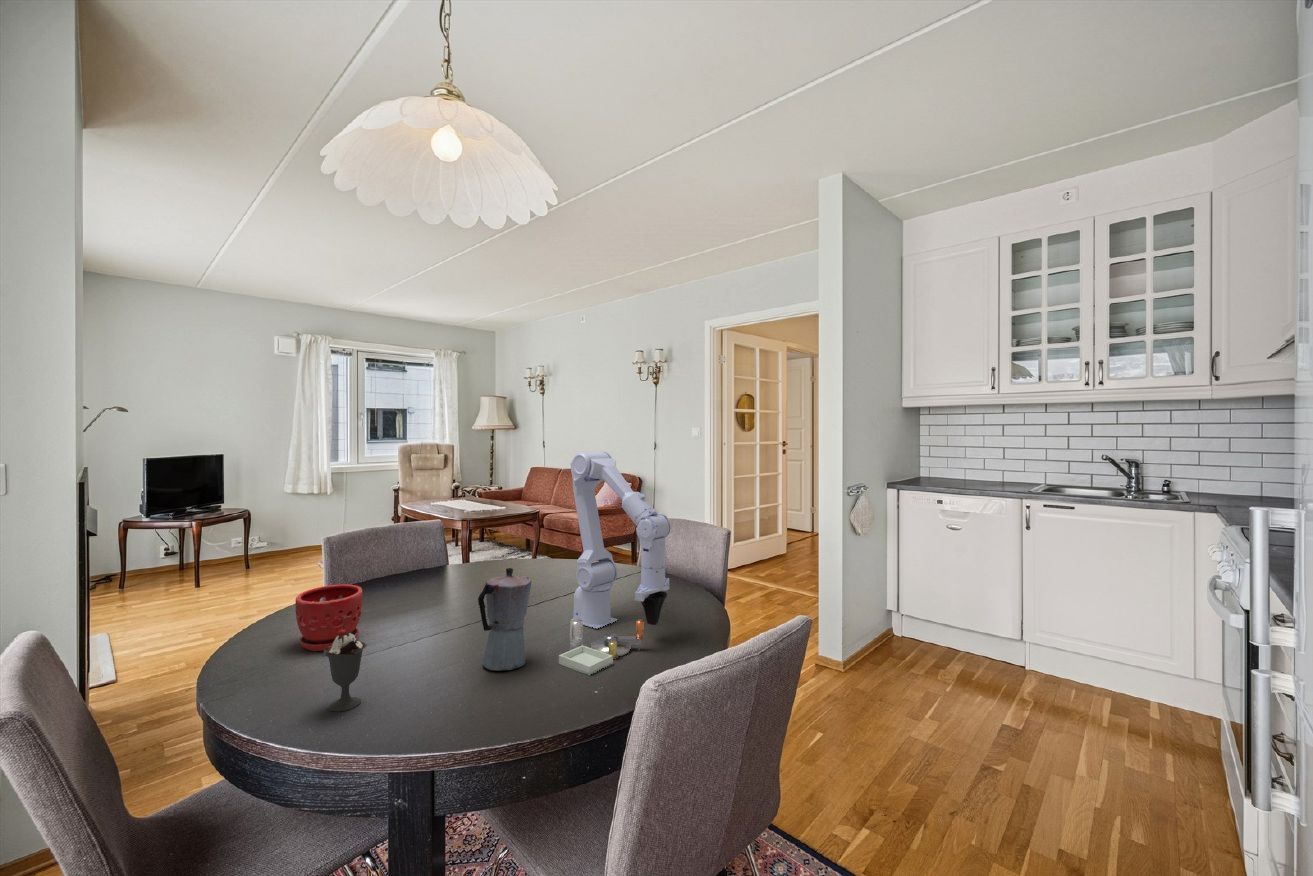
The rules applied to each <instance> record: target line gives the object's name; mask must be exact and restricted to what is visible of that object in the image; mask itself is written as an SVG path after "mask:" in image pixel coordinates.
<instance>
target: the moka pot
mask: <svg viewBox="0 0 1313 876" xmlns="http://www.w3.org/2000/svg"><path fill="white" fill-rule="evenodd" d="M513 572H514V568H512V567H507V568H506V569H505V573H506V574H505V575H503V576H502V575H501V576H496V577H491V578H489V579H488V580H487V581H486V582H484V583H485V585H484V586H483V589H482V591H481V592H480V594H479V595H478V597H477V601H478V606H479V612H480V613H479V614H480V617H481V620H482V621H481V624H482V626H483V631H484V632H487V631H488V633H487V638H486V644H485V648H484V653H483V659H482V666H483V667H484V669H487V670H489V671H495V672H496V671H498V672H500V671H501V672H502V671H503V672H504V671H512V670H516V669H519V668H521V667H523V666H525V664H526V651H525V650H526V649H525V635H524V634H525V633H524V624H525V617H526V615H527V611H528V606H529V599H530V592H531V588H532V580H531V579H530V578H529V577H528V576H525V575H513ZM484 600H486V604H485V601H484ZM486 613H487V615H486ZM487 618H488V619H487Z"/></svg>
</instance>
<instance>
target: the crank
mask: <svg viewBox="0 0 1313 876" xmlns="http://www.w3.org/2000/svg"><path fill="white" fill-rule="evenodd" d="M644 637H645V620H644V619H636V620H635V636H634V635H628V636H627V635H624V636H623V635H621V636H620V635H619V634H617V633H605V634H604V635H603V638H604V644H605V645H607V646H609V642H610V641H616V642H617V645H631V646H632V645H637V646H638V645H642V640H644Z"/></svg>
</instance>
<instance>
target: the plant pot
mask: <svg viewBox="0 0 1313 876" xmlns="http://www.w3.org/2000/svg"><path fill="white" fill-rule="evenodd" d="M363 593H364V592H363V588H362V587H361V586H359V585H356V584H354V585H353V584H332V585H324V586H323V585H322V586H319V587H314V588H312V589H311V588H310V589H308V590H305V591H303V592H300V594H298V595H297V596H296V597H295V616H296V617H295V619H296V623H297V627H298V630H299V632H300V634H301V637H300V639H299V644H300V646H301V647H303V648H304V649H306V650H309V651H315V652H317V651H320V652H321V651H322V652H324V649H325V648H326V647H329V646H332V644H333V642H334V640H335V638H336V637H337V636H338V631H339V630H341V629H342V623H343V625H344V630H346V631H347V632H350V633H352V634H353V635H354V636H355V638H356V639H357V638H358V636H359V633H360V632H359V629H358V628H357V627H358V624H359V622H360V620H361V617H362V616H361V615H362V613H363V612H362V611H363V599H364V598H363ZM339 596H341V597H342V598H339ZM322 598H325V600H322V601H321V599H322ZM338 619H341V622H342V623H341V622H340V621H338Z"/></svg>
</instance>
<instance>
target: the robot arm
mask: <svg viewBox="0 0 1313 876" xmlns="http://www.w3.org/2000/svg"><path fill="white" fill-rule="evenodd" d="M569 464H570V471H571V477H572V491H573V495H574V502H575V509H576V513H577V514H576V515H577V520H578V526H579V533H580V538H581V545H582V551H583V552H582V553H581V555H580V556H579V557H578V559H577V560H576V573H575V575H576V576H575V577H576V582H577V584H578V587H577V588H576V589H575V592H574V595H573V618H572V619H570V621H571V620H573V619H581V620H583V626H586V627H589V628H592V627H593V628H592V629H595V628H596V630H598V628H599V629H601V628H604V627H606V626H608V625H607V624H609V623H611V624H614V623H616V622H618V621H617V620H618V618H615V617H612V616H611V612H612V611H611V609H612V608H611V606H612V603H611V602H612V587H613V585H614V584H613V583H614V582H615V581H616V580H617V577H618V567H617V564H616V563H615V561H614V557H613V554H612V553H611V552H610V551H608V550H607V549H606V548H605V546H604V545H605V544H604V539H603V532H602V528H601V527H602V526H601V523H600V522H601V521H600V516H599V509H598V503H597V498H596V493H595V492H596V491H595V489H596V487H597V486H598V485H599V484H600V483H601V482H602V481H604V482H605V484H607V485H608V487H609V488H611V490H612V491H613V492H614V493H615V494H616V495H617V496H618V497H619V499H621V500H622V501H621V507H622V509H623V510H624V512H625V513H626V514H627V516H628V517H629V518H630V520H631V521H632V522H633V523H634V525H635V526H636V528H635V532H636V535H637V537H638V539H639V546H640V548H641V549H640V551H641V553H640V557H641V558H640V562H641V563H640V565H641V566H640V584H639V586H638V588H637V590H636V591H634V601H635V602H641V605H642V607H643V610H644V614H645V618H646V619H645V620H646V622H647V625H652V626H656V625H658V623H659V620H660V615H661V610H662V607H663V605H664V602H665V600H666V598H667V596H668V593H667V592H666V591H669V590H670V578H669V577H666V537H667V538H668V536H669V535H670V532H671V529H672V528H671V522H670V521H669V518H668V516H667V515H666V514H664V513H659V512H658V511H657V510H656V508H654V507H653V506H652V505H651V504H650V503H649V502H648V500H647V499H646V495H645V494H644V493H641V492H639V491H633V489H632V488H631V486H630V484H629V483H628V482H627V480H626V479H625V478H624V476H623V474H622V473H621V472H620V470H619V469H618V467H616V466H617V461H616V460H615V458H613V457H612V455H611V454H610V453H609V452H608V451H600V452H599V451H598V452H597V451H596V452H595V451H594V452H584V451H579V452H577V453H575V455H574V456H573V458H572V460H571V462H570V463H569ZM615 621H616V622H615ZM613 622H614V623H613ZM605 625H606V626H605ZM609 625H610V624H609ZM603 626H604V627H603ZM600 627H601V628H600Z"/></svg>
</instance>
